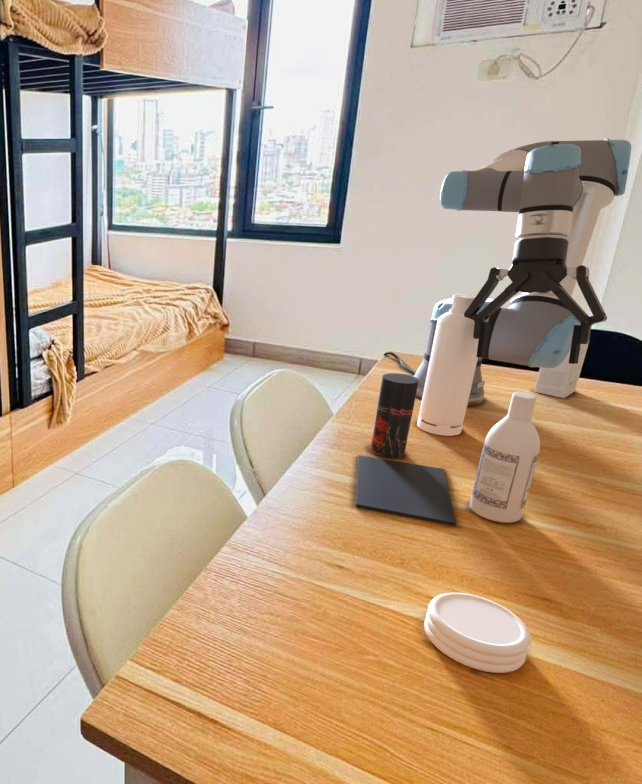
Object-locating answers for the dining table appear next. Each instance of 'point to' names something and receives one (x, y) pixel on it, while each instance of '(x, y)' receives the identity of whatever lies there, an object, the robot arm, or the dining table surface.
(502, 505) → the bath foam
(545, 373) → the small box
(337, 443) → the dining table surface
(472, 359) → the bottle
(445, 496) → the mat
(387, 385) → the deodorant
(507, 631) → the coaster
